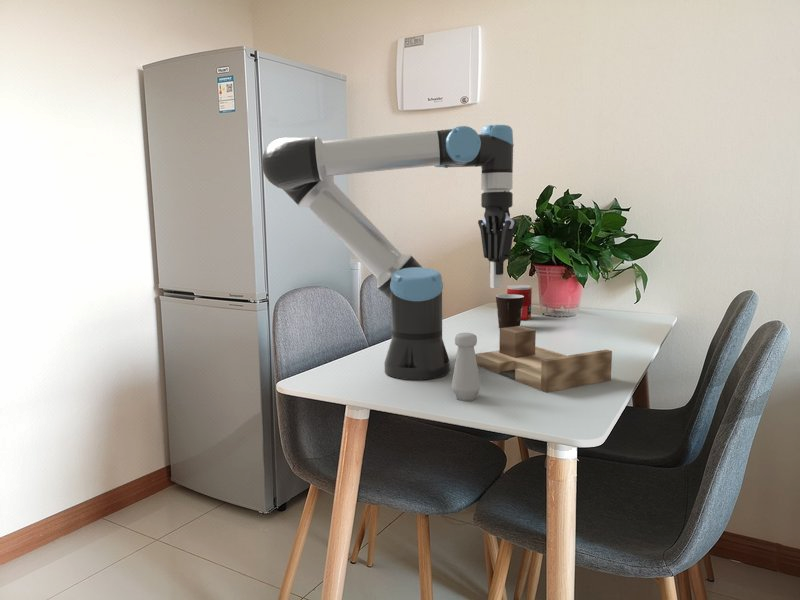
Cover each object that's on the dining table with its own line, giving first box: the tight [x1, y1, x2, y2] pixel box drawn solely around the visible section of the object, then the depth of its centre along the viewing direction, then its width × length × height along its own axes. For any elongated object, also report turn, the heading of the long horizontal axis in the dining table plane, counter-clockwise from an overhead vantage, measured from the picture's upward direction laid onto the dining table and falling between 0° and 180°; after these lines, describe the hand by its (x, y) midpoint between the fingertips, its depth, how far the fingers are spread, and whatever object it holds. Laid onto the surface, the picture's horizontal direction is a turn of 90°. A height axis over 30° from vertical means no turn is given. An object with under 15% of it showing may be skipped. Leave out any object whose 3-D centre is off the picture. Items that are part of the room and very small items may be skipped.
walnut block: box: [498, 325, 537, 358], centre depth 145 cm, size 6×6×6 cm
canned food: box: [506, 284, 533, 321], centre depth 204 cm, size 8×8×11 cm
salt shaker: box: [450, 332, 482, 402], centre depth 120 cm, size 6×6×13 cm
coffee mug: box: [495, 293, 524, 329], centre depth 188 cm, size 12×9×10 cm
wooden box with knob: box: [475, 345, 613, 393], centre depth 138 cm, size 18×26×6 cm
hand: (496, 287), depth 151 cm, fingers closed
